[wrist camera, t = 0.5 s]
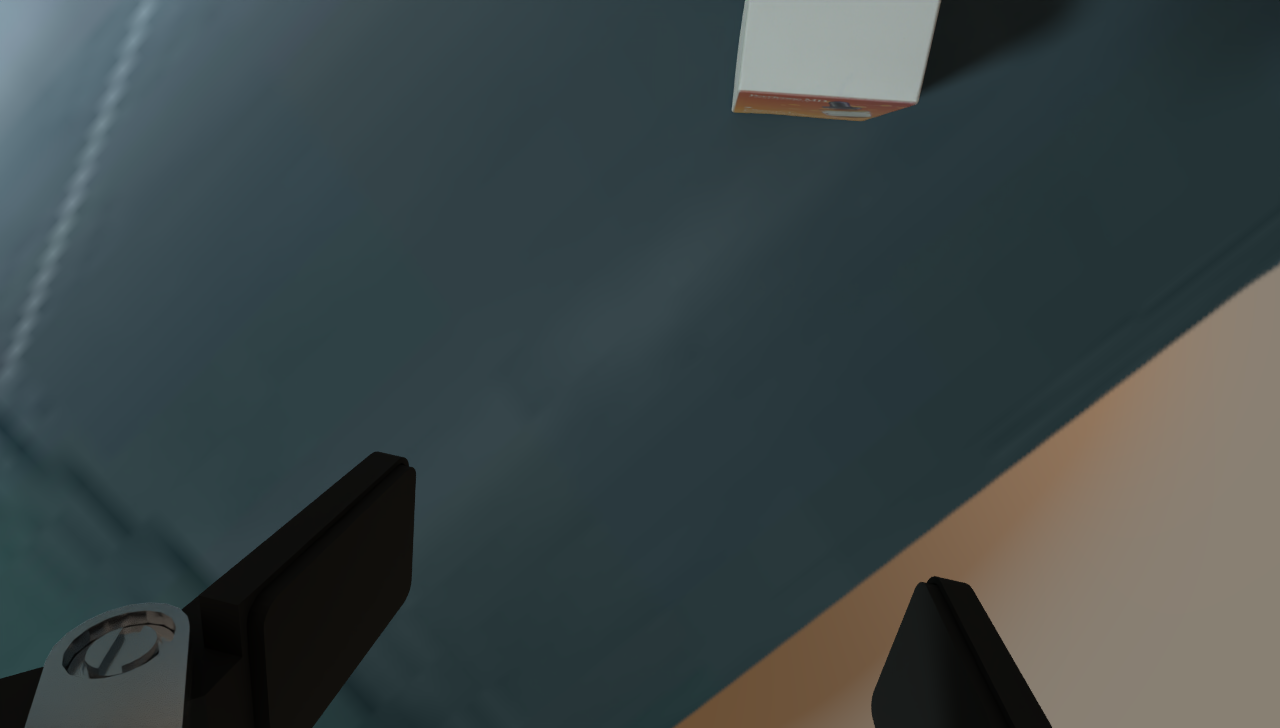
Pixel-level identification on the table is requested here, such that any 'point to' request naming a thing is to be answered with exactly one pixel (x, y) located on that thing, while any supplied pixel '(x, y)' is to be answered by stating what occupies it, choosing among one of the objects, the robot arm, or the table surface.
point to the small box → (832, 57)
